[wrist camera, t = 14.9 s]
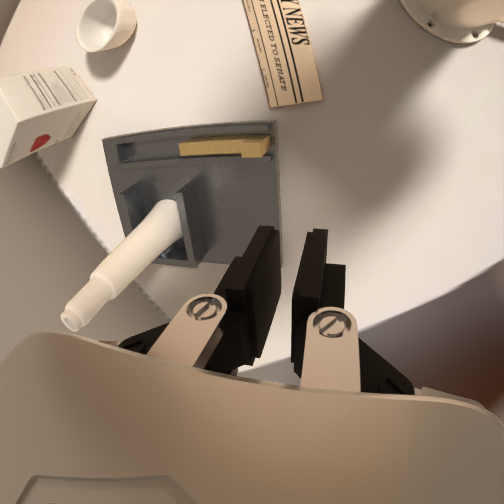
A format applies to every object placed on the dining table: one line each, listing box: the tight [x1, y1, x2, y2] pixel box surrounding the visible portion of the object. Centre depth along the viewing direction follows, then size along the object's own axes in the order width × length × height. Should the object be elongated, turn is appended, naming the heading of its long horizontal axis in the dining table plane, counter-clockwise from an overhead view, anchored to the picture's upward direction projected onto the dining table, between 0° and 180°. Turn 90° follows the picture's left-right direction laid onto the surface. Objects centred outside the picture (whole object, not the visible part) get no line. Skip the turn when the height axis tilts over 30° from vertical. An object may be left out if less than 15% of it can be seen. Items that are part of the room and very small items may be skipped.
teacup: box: [76, 0, 137, 52], centre depth 27 cm, size 10×8×5 cm
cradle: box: [102, 120, 282, 268], centre depth 39 cm, size 25×20×5 cm
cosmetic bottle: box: [61, 199, 183, 332], centre depth 33 cm, size 6×6×22 cm
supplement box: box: [0, 66, 97, 168], centre depth 31 cm, size 9×9×15 cm
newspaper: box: [243, 0, 323, 108], centre depth 25 cm, size 24×7×2 cm, turn 13°
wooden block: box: [179, 135, 271, 158], centre depth 32 cm, size 10×2×5 cm, turn 95°
